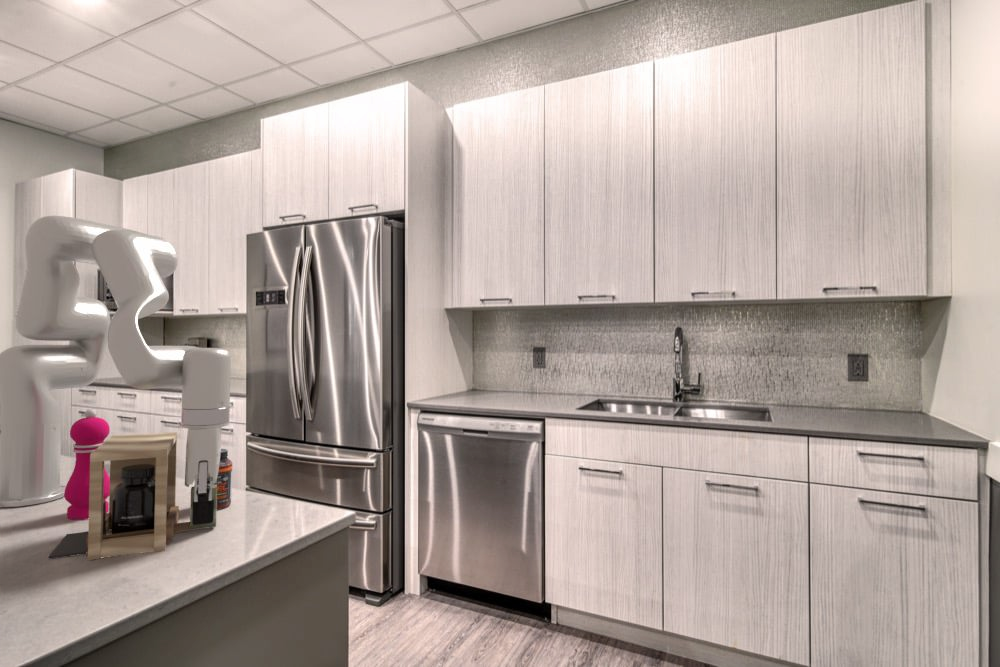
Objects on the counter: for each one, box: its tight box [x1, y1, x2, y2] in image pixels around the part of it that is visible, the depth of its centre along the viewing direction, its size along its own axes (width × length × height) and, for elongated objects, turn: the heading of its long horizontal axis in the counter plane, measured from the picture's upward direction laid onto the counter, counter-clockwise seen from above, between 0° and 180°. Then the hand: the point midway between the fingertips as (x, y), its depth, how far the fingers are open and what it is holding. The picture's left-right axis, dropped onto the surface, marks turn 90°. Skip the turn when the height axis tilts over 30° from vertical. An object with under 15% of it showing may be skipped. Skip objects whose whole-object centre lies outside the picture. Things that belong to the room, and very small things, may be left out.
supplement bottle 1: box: [110, 464, 155, 534], centre depth 91 cm, size 7×7×12 cm
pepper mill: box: [63, 408, 111, 520], centre depth 102 cm, size 7×7×20 cm
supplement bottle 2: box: [213, 448, 233, 510], centre depth 108 cm, size 6×6×11 cm
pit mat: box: [47, 531, 88, 559], centre depth 87 cm, size 10×5×1 cm, turn 26°
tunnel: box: [87, 431, 178, 561], centre depth 91 cm, size 16×10×16 cm, turn 26°
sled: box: [86, 484, 217, 553], centre depth 92 cm, size 11×18×7 cm, turn 116°
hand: (203, 519), depth 95 cm, fingers closed
